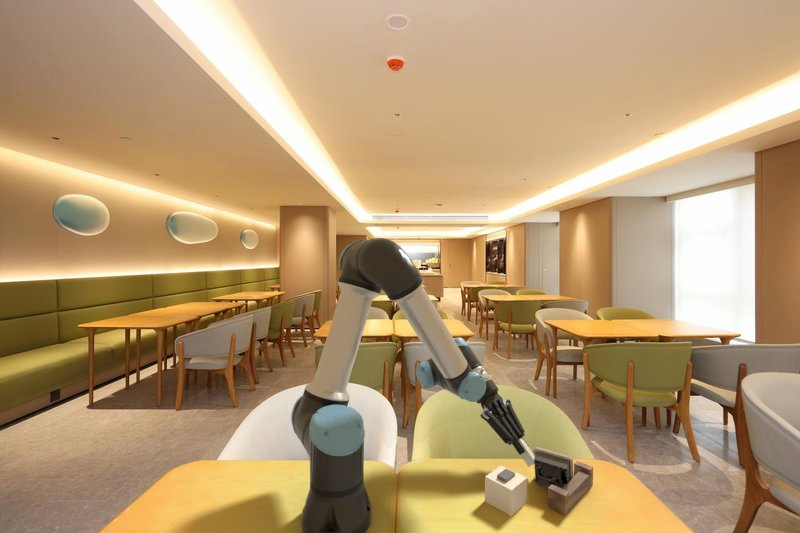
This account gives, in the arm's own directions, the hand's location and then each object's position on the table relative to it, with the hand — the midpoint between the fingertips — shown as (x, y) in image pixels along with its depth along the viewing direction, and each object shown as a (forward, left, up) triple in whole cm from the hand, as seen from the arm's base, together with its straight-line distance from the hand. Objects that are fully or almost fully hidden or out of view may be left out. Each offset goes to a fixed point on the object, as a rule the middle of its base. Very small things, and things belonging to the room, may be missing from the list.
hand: (533, 463), depth 97 cm
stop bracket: (+11, 0, -4) cm, 11 cm away
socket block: (0, -14, -4) cm, 15 cm away
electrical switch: (+6, 0, -4) cm, 7 cm away
